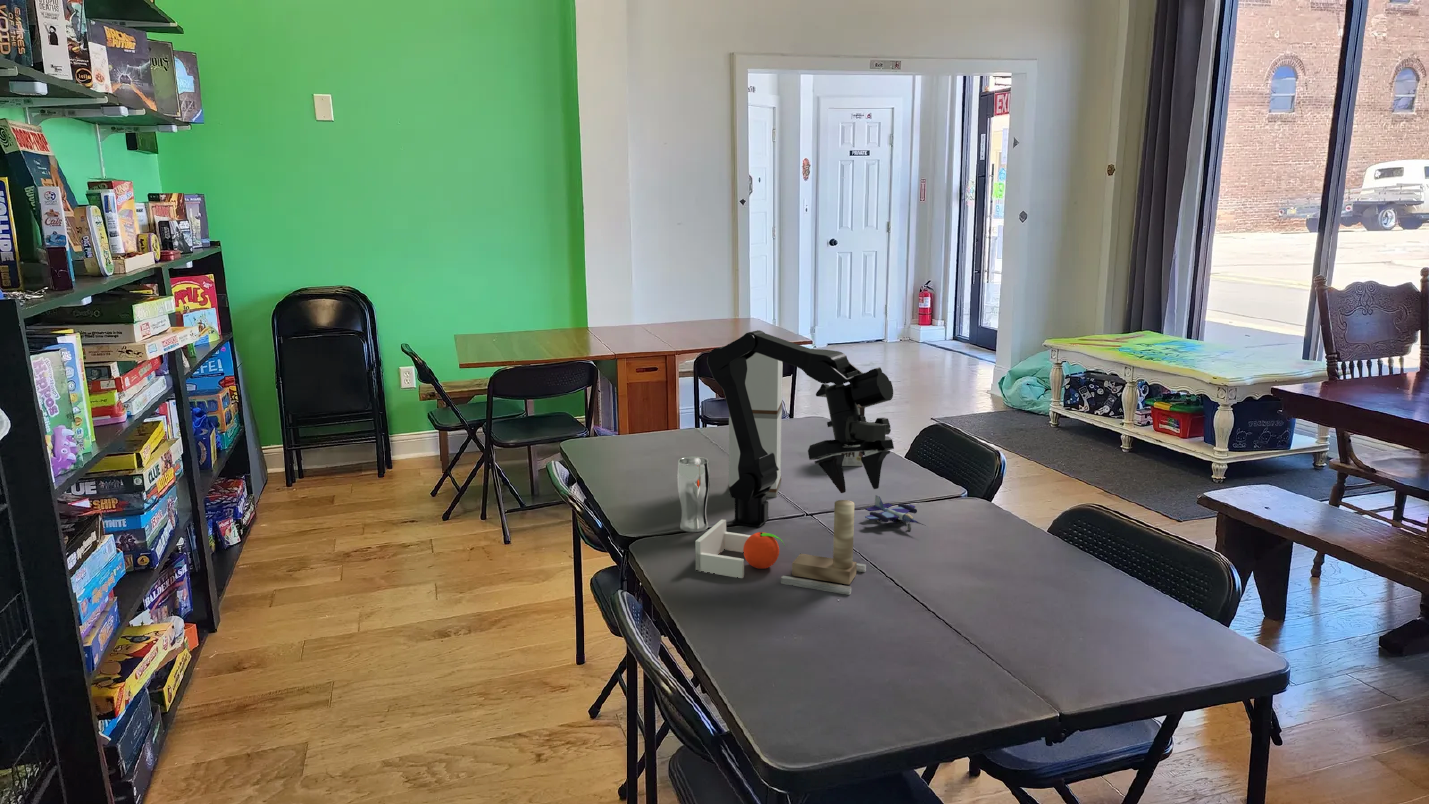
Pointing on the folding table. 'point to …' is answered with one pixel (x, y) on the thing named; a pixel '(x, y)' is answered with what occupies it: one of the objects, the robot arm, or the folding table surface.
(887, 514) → the toy airplane
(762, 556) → the clementine
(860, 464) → the coffee box
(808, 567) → the ball
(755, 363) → the white square tower
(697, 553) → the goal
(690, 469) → the beer glass
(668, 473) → the folding table surface
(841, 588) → the rails
